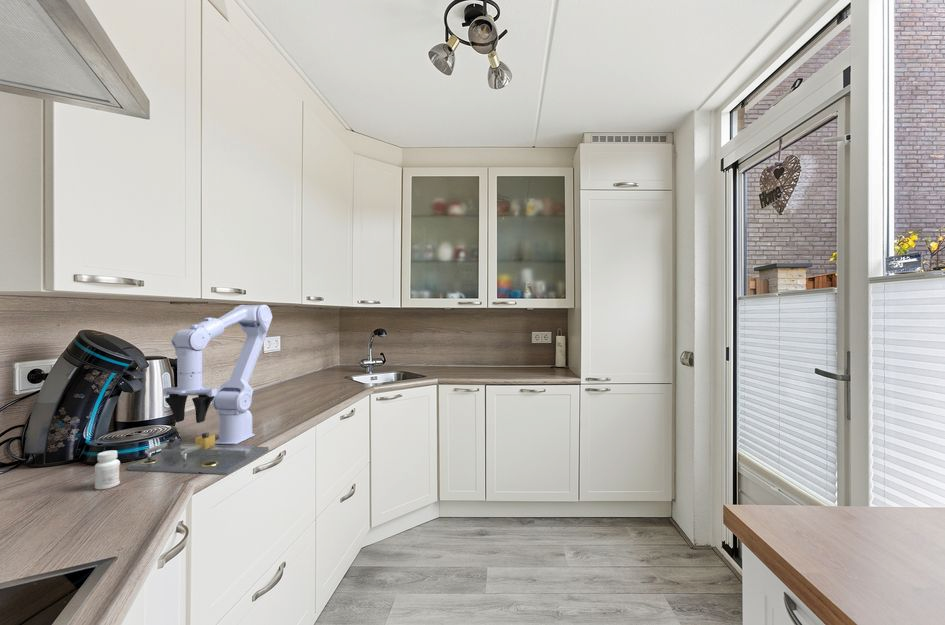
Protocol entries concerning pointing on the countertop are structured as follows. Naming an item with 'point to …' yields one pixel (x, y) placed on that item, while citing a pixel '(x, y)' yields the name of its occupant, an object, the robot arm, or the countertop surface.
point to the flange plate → (198, 461)
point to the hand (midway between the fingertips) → (190, 421)
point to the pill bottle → (107, 470)
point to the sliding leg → (200, 444)
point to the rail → (210, 451)
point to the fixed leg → (164, 446)
